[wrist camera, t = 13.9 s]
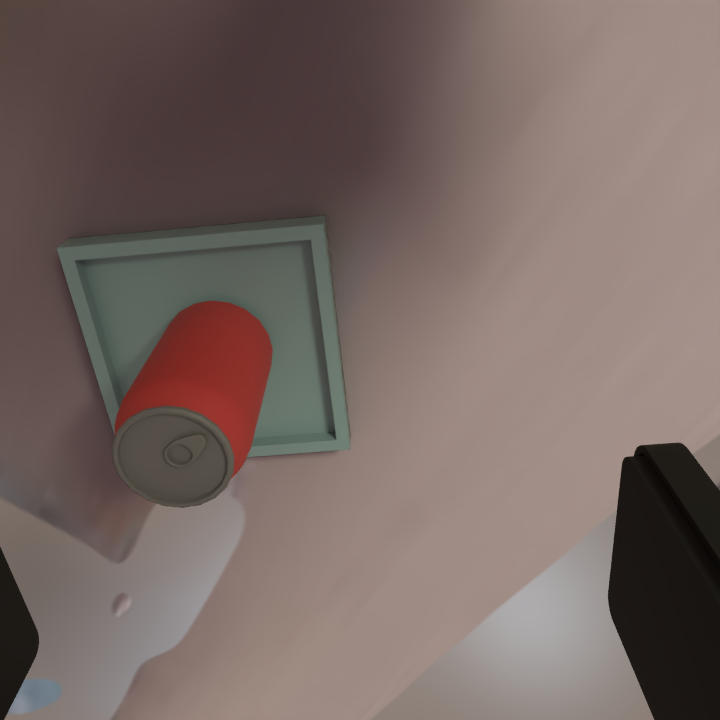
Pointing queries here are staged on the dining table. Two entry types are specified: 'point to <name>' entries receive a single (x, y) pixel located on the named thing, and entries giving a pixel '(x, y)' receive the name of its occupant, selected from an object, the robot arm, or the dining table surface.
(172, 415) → the beer can
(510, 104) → the dining table surface
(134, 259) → the slate tray
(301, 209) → the dining table surface
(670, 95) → the dining table surface
